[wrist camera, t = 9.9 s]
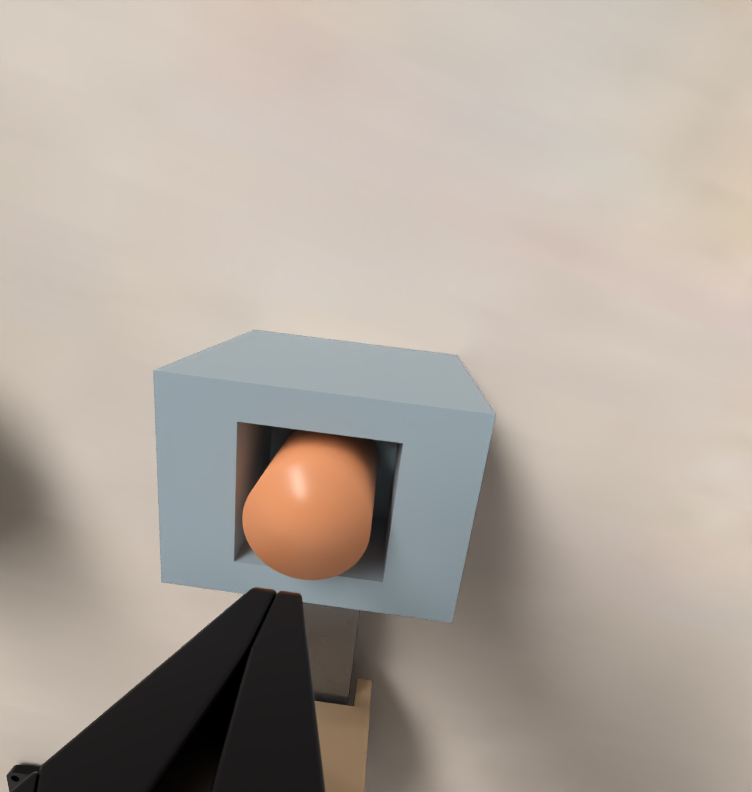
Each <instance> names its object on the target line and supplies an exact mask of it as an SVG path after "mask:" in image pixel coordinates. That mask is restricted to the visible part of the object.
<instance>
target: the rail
mask: <svg viewBox="0 0 752 792" xmlns="http://www.w3.org/2000/svg"><path fill="white" fill-rule="evenodd" d="M303 609H304V617H305V625H306V634H307V642H308V650H309V658H310V666H311V675H312V683H313V691H314V699H315V701H320V702H326V703H333V704H340V705H347V703H348V696H349V688H350V680H351V672H352V665H353V657H354V649H355V642H356V634H357V626H358V618H359V611H360V610H356V609H349V608H342V607H335V606H328V605H320V604H313V603H306V602H303Z"/></svg>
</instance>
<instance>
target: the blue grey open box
mask: <svg viewBox="0 0 752 792" xmlns="http://www.w3.org/2000/svg"><path fill="white" fill-rule="evenodd" d="M153 373H154V399H155V425H156V452H157V478H158V504H159V530H160V556H161V582H163V583H170V584H177V585H185V586H192V587H199V588H206V589H213V590H220V591H228V592H235V593H242V594H245V593H247V592H248V591H249V590H250V589H252V588H254V587H260V588H267V589H273V590H275V591H276V592H277V593H278V592H279V591H288V592H295V593H300V594H301V596H302V601H303V602H306V603H313V604H320V605H328V606H335V607H342V608H349V609H356V610H363V611H370V612H378V613H385V614H392V615H399V616H406V617H413V618H420V619H428V620H435V621H442V622H449V623H452V620H453V616H454V611H455V606H456V601H457V597H458V592H459V587H460V582H461V578H462V573H463V568H464V563H465V559H466V554H467V549H468V544H469V540H470V535H471V530H472V525H473V521H474V516H475V511H476V506H477V502H478V497H479V492H480V487H481V483H482V478H483V473H484V468H485V464H486V459H487V454H488V449H489V445H490V440H491V435H492V430H493V426H494V421H495V416H496V414H495V413H494V411H493V409H492V408H491V406H490V405H489V403H488V402H487V400H486V399H485V397H484V396H483V394H482V392H481V391H480V389H479V388H478V386H477V385H476V383H475V382H474V380H473V379H472V377H471V376H470V374H469V372H468V371H467V369H466V368H465V366H464V365H463V363H462V362H461V360H460V359H459V357H458V356H457V355H450V354H442V353H434V352H426V351H418V350H410V349H402V348H394V347H386V346H378V345H370V344H362V343H354V342H346V341H338V340H331V339H323V338H315V337H307V336H299V335H291V334H283V333H275V332H267V331H259V330H252V331H250V332H247V333H245V334H242V335H240V336H237V337H235V338H233V339H230V340H228V341H225V342H223V343H220V344H218V345H215V346H213V347H210V348H208V349H205V350H203V351H200V352H198V353H196V354H193V355H191V356H188V357H186V358H183V359H181V360H178V361H176V362H173V363H171V364H168V365H166V366H163V367H161V368H159V369H156V370H154V371H153ZM294 429H297V430H305V431H313V432H320V433H328V434H336V435H343V436H351V437H359V438H366V439H373V441H374V442H375V445H376V447H377V451H378V457H379V465H378V474H377V482H376V491H375V499H374V508H373V516H372V524H371V533H370V538H369V543H368V545H367V548H366V550H365V552H364V554H363V555H362V557H361V558H360V559H359V561H358V562H357V563H356V564H355V565H354V566H352V567H351V568H350V569H348V570H347V571H345V572H343V573H342V574H339V575H337V576H334V577H331V578H327V579H322V580H302V579H296V578H292V577H289V576H286V575H284V574H281V573H279V572H277V571H275V570H274V569H272V568H270V567H269V566H268V565H266V564H265V563H264V562H263V561H262V560H261V559H259V557H258V556H257V555H256V554H255V553H254V551H253V550H252V548H251V547H250V545H249V543H248V541H247V539H246V536H245V533H244V529H243V521H242V516H243V509H244V505H245V502H246V500H247V497H248V495H249V494H250V492H251V491H252V489H253V488H254V486H255V485H256V483H257V482H258V480H259V479H260V477H261V476H262V474H263V473H264V471H265V470H266V469H267V467H268V466H269V464H270V463H271V461H272V460H273V458H274V457H275V455H276V454H277V452H278V451H279V449H280V448H281V447H282V445H283V444H284V442H285V441H286V439H287V438H288V436H289V435H290V433H291V432H292V431H293V430H294Z"/></svg>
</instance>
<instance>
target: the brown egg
mask: <svg viewBox="0 0 752 792" xmlns="http://www.w3.org/2000/svg"><path fill="white" fill-rule="evenodd" d="M378 465H379V457H378V451H377V447H376V445H375V442H374V441H373V439H366V438H359V437H351V436H343V435H336V434H328V433H320V432H313V431H305V430H297V429H294V430H293V431H292V432H291V433H290V435H289V436H288V438H287V439H286V441H285V442H284V444H283V445H282V447H281V448H280V449H279V451H278V452H277V454H276V455H275V457H274V458H273V460H272V461H271V463H270V464H269V466H268V467H267V469H266V470H265V471H264V473H263V474H262V476H261V477H260V479H259V480H258V482H257V483H256V485H255V486H254V488H253V489H252V491H251V492H250V494H249V495H248V497H247V500H246V502H245V505H244V509H243V516H242V521H243V529H244V533H245V536H246V539H247V541H248V543H249V545H250V547H251V548H252V550H253V551H254V553H255V554H256V555H257V556H258V557H259V559H261V560H262V561H263V562H264V563H265V564H266V565H268V566H269V567H270V568H272V569H274V570H275V571H277V572H279V573H281V574H284V575H286V576H289V577H292V578H296V579H302V580H322V579H327V578H331V577H334V576H337V575H339V574H342V573H343V572H345V571H347V570H348V569H350V568H351V567H352V566H354V565H355V564H356V563H357V562H358V561H359V559H360V558H361V557H362V555H363V554H364V552H365V550H366V548H367V545H368V543H369V538H370V533H371V524H372V516H373V508H374V499H375V491H376V482H377V474H378Z"/></svg>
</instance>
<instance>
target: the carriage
mask: <svg viewBox="0 0 752 792" xmlns="http://www.w3.org/2000/svg"><path fill="white" fill-rule="evenodd" d="M371 687H372V680H368V679H361V678H357V683H356V690H355V698H354V705H353V706H347V705H340V704H333V703H326V702H320V701H315V708H316V716H317V724H318V732H319V741H320V749H321V757H322V765H323V774H324V782H325V790H326V792H364V788H365V774H366V760H367V746H368V732H369V719H370V701H371Z"/></svg>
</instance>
